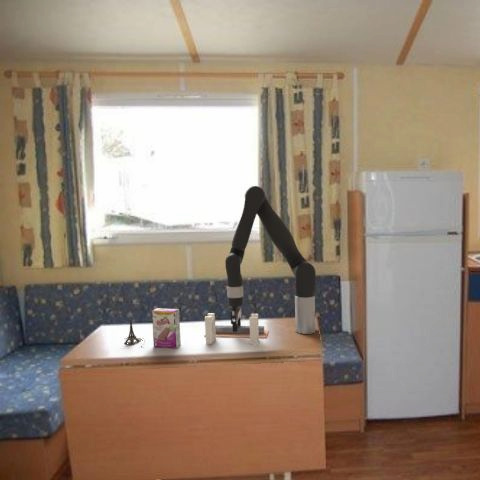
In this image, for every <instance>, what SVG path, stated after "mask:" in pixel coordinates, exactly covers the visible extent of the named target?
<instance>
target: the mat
mask: <svg viewBox="0 0 480 480" xmlns="http://www.w3.org/2000/svg"><path fill="white" fill-rule="evenodd" d="M268 334H269V329H264V335H263V334H259V339H267V337H268ZM203 336H204V338H206V334H205V335H203ZM216 338H238V339H239V338H243V339H245V338H246V339H248V338H249V339H250V334H216Z"/></svg>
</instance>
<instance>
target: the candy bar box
mask: <svg viewBox="0 0 480 480" xmlns="http://www.w3.org/2000/svg"><path fill="white" fill-rule="evenodd" d="M151 316H152V318H151V319H152V322H151V323H152V337H153V338H152V340H153V341H152V342H153V347H154V348H155V347H156V348H157V347H158V348H168V349H169V348H170V349H177V348H178V347H180V346H181V345H182V344H181V343H182V342H181V324H180V323H181V322H180V309H179V308H178V309H177V308H164V307H163V308H162V307H157V308H155V309H153V310H151Z"/></svg>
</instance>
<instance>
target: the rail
mask: <svg viewBox="0 0 480 480" xmlns="http://www.w3.org/2000/svg"><path fill="white" fill-rule="evenodd" d="M237 328H238V331H237V332H233V327H232V325H216V324H215V331H216V334H250V325H241V326H237ZM264 330H265V326H264V325H262V326H261V325H259V334H263V335H264Z"/></svg>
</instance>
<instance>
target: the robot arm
mask: <svg viewBox="0 0 480 480" xmlns="http://www.w3.org/2000/svg"><path fill="white" fill-rule="evenodd" d="M257 216H258V217H259V220H260V222H261V224H262V226H263V228H264V230H265V232H266V233H267V235H268V238H269V239H270V240H271V241H272V243H273V244H274V245H275V248H276V249H278V251H279V252H280V254H281V255H282V256H283V257H284V258H285V260H286V262H287V264H288V266H289V268H290V269H291V272H292V275H294V278H295V289H294V313H295V314H294V315H295V317H294V318H295V322H294V323H295V332H296V333H297V332H298V333H297V334H301V333H302V334H303V335H310V334H311V335H312V334H316V304H315V303H316V301H315V300H316V298H315V292H316V287H317V285H316V282H317V279H316V278H317V276H316V275H317V274H316V269H315V267H314V265H313V264H311V263H310V262H308V261H307V260H306V258H305V257H304V256H303V255H302V254H301V252H300V251H299V249H298V247H297V244H296V242H295V239H294V237H293V235H292V232H291V231H290V229H289V228H288V227H287V225H286V224H285V222H284V221H283V220H282V217H280V216H279V215H278V213H277V212H275V210H274V209H273V207H272V206H271V204H270V202H269V201H268V198H267V197H266V193H265V191H264V189H263V188H262V187H261V186H258V185H251V186H249V187H247V188H246V190H245V192H244V204H243V209H242V213H241V217H240V219H239V221H238V224H237V226H236V229H235V231H234V234H233V238H232V240H231V241H232V242H231V249H230V251H229V254H228V255H227V257H226V258H225V262H224V263H225V270H226V277H227V278H226V281H227V282H226V284H227V290H226V293H227V306H229V307H230V308H232V309H231V310H230V312H229V313H230V325H231V326H232V327H233V332H237V331H238V328H237V326H242V325H241V323H242V321H241V319H242V314H243V313H242V306H244V305H245V300H244V298H245V297H244V286H243V275H242V274H241V264H242V262H243V260H244V257H245V251H246V248H247V246H248V242H249V239H250V237H251V236H250V235H251V234H252V233H251V232H252V230H253V226H254V222H255V219H256V217H257Z"/></svg>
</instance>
